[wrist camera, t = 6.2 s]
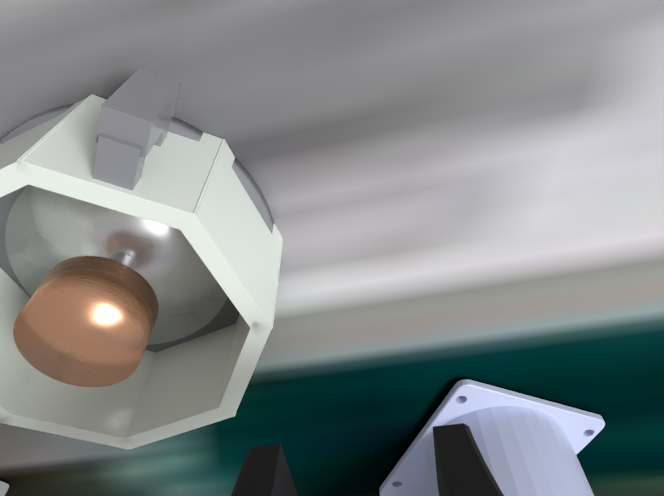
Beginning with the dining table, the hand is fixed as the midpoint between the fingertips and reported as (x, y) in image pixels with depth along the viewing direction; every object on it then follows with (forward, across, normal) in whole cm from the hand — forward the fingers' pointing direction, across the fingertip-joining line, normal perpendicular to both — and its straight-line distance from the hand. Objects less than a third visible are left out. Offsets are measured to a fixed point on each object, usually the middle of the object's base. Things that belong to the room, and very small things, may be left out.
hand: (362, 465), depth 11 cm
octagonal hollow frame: (+10, +8, 0) cm, 13 cm away
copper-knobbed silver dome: (+9, +8, 0) cm, 12 cm away
